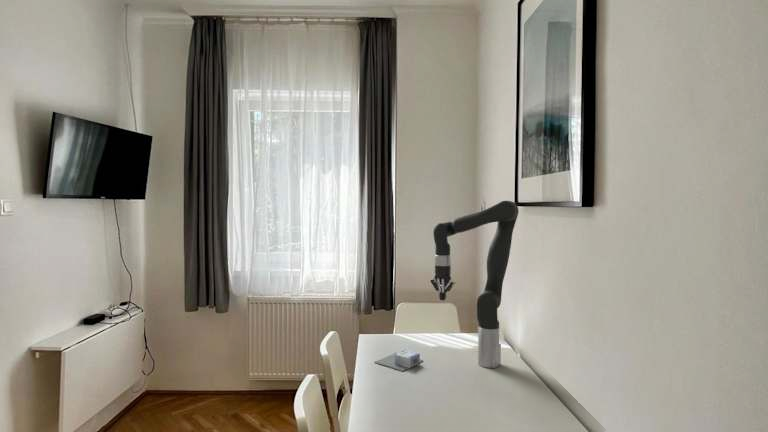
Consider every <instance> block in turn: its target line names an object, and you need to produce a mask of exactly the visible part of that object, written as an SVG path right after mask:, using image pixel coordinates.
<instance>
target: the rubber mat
mask: <svg viewBox="0 0 768 432" xmlns="http://www.w3.org/2000/svg"><path fill="white" fill-rule="evenodd" d="M397 353H398V352H395V353H392V354H390V355H387V356H386V357H383V358H381V359H378V360H376V361H374V363H375V364H376V365H380V366H383V367H386V368H389V369H393V370H396V371H398V372H402V373H403V372H405V371H408V370H409V369H410V368H407V367H404V366H400V365H397V364H395V354H397ZM423 362H424V360H423V359H420V363H419V364H421V363H423Z"/></svg>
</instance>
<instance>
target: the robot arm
mask: <svg viewBox="0 0 768 432" xmlns="http://www.w3.org/2000/svg"><path fill="white" fill-rule="evenodd" d="M518 215H519V207H518V205H517V204H516V202H514V201H512V200H501V201H500V202H498V203H496V204H494V205H492V206H491V207H488V208H486V209H484V210H480V211H478V212H474V213H471V214H467V215H464V216H460V217H457V218H454V219H453V220H450V221H447V222H440V223H437V224H435V226H434V228H433V240H434V244H435V254H434V255H435V256H434V274H435V275H434V278H433V279H431V280H430V283H431V285H432V286H433V288H434V289H435V291H437V292H438V293H439V295H438V296H439V297H438V298H439V300H440V301H443V302H444V301H445V300H446V299H447V293H448V292H450V291H451V290H452V289H453V287H454V286H455V284H456V282H455V281H453V280H452V277H451V271H452V269H451V268H452V267H451V266H452V264H451V263H452V262H451V245H450V243H449V241H448V237H451V236H454V235H457V234H459V233H465V232H467V231H470V230H473V229H477V228H478V227H479V228H480V227H482V226H484V225H486V224H487V225H488V224H492V223H497V224H496V225H497V226H496V229H495V230H496V231H495V233H494V235H493V238H492V240H491V242H490V245H489V248H488V251H487V252H488V253H487V257H486V258H487V259H486V275H487V276H486V277H487V278H486V283H485V286H484V290H483V292H482V293H481V294H480V295H478V297H477V299H476V319H477V320H476V321H477V322H478V323H477V324H478V327H477V328H478V329H477V330H478V331H477V333H478V335H477V336H478V337H477V341H478V343H477V346H478V348H477V350H478V351H477V352H478V355H477V361H478V362H477V364H478V366H480V367H484V368H488V369H491V368H492V369H496V368H498V367H499V366H501V363H502V361H501V360H502V359H501V358H502V357H501V356H502V351H501V350H502V348H501V347H502V344H501V343H500V321H499V320H498V309H499V307H500V306H501V302H502V295H503V294H502V292H503V291H502V290H503V283H504V280H505V276H506V272H507V267H508V263H509V260H510V259H509V258H510V253H511V247H512V246H511V245H512V238H513V234H514V233H513V232H514V229H515V225H516V222H517V219H518Z"/></svg>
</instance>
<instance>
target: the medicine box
mask: <svg viewBox="0 0 768 432" xmlns="http://www.w3.org/2000/svg"><path fill="white" fill-rule="evenodd" d="M396 353H397V354H395V364H397V365H400V366H404V367H407V368H409V369H411V368H413V367H415V366H417V365H419V364H421V363H420V360H421V358H420V356H421V355H420V354H421V353H417V352H413V351H410V350H406V349H404V350H401V351H400V352H396Z"/></svg>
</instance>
